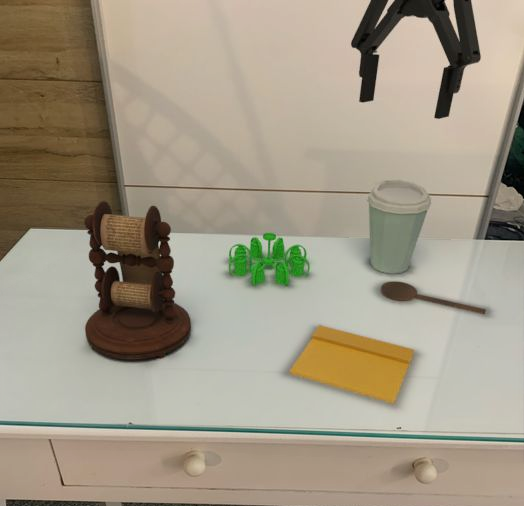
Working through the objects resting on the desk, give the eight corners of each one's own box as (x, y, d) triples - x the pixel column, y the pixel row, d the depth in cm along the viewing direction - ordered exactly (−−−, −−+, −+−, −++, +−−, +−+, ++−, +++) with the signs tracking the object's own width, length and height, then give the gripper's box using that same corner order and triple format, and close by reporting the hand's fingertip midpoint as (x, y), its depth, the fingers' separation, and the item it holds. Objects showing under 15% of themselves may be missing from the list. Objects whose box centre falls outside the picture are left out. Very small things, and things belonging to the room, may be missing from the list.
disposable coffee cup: (429, 277, 99) (447, 195, 91) (377, 287, 96) (392, 202, 87) (395, 253, 107) (409, 176, 99) (347, 261, 104) (357, 182, 95)
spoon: (486, 307, 91) (488, 300, 90) (482, 324, 87) (484, 318, 86) (384, 284, 97) (385, 278, 96) (375, 299, 92) (376, 293, 91)
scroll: (202, 317, 86) (197, 190, 74) (174, 374, 74) (163, 233, 62) (111, 307, 88) (93, 181, 76) (69, 360, 76) (40, 221, 64)
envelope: (412, 357, 79) (414, 347, 78) (392, 407, 70) (395, 396, 68) (319, 333, 83) (320, 323, 82) (289, 377, 74) (290, 366, 73)
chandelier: (295, 299, 91) (298, 260, 87) (212, 281, 95) (211, 244, 91) (319, 262, 103) (323, 226, 99) (244, 248, 107) (245, 213, 103)
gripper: (337, -68, 77) (323, 97, 89) (508, -70, 62) (463, 128, 74) (371, -65, 81) (353, 92, 93) (537, -66, 67) (490, 121, 79)
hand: (402, 109), depth 84 cm, fingers open, 13 cm apart
